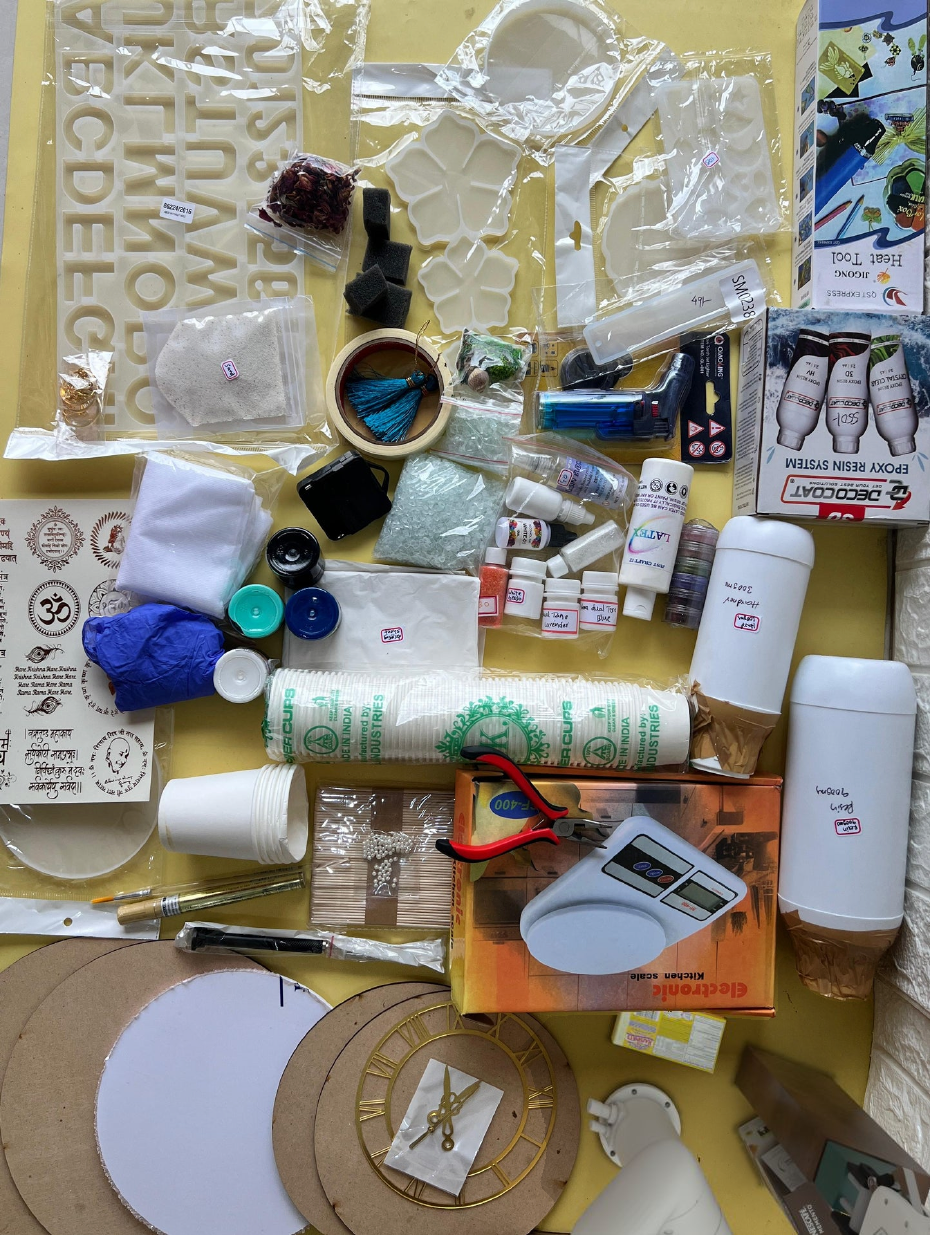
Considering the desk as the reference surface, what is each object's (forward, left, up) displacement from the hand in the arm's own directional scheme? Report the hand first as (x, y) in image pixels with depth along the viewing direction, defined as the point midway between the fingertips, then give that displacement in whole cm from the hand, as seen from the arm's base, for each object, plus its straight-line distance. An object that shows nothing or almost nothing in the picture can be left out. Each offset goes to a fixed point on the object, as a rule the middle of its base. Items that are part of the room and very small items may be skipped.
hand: (851, 1193), depth 92 cm
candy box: (-14, -3, -30) cm, 33 cm away
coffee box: (+7, -10, -31) cm, 33 cm away
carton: (+4, 0, -5) cm, 6 cm away
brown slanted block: (+6, 0, -31) cm, 31 cm away
